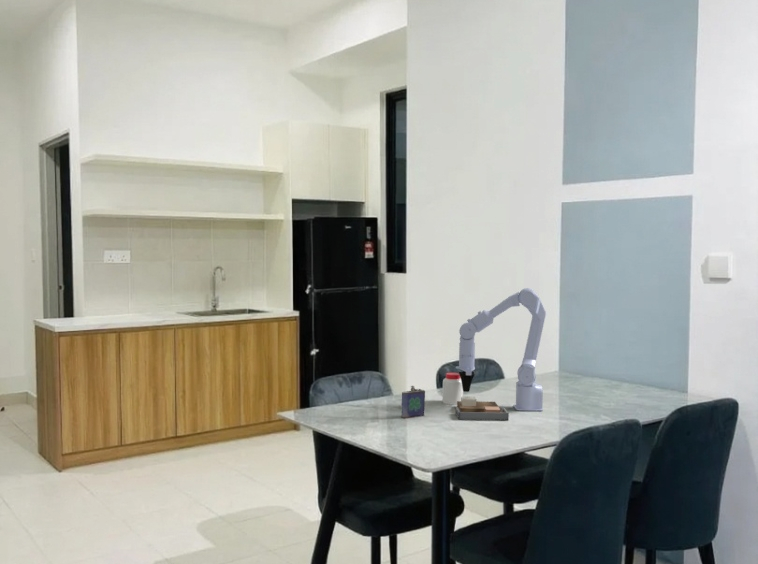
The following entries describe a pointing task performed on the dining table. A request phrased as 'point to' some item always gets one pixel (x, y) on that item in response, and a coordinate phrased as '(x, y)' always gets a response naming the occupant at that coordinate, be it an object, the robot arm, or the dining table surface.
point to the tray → (482, 415)
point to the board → (478, 407)
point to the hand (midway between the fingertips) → (466, 391)
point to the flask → (413, 403)
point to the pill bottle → (452, 388)
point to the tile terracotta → (491, 409)
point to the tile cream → (468, 401)
